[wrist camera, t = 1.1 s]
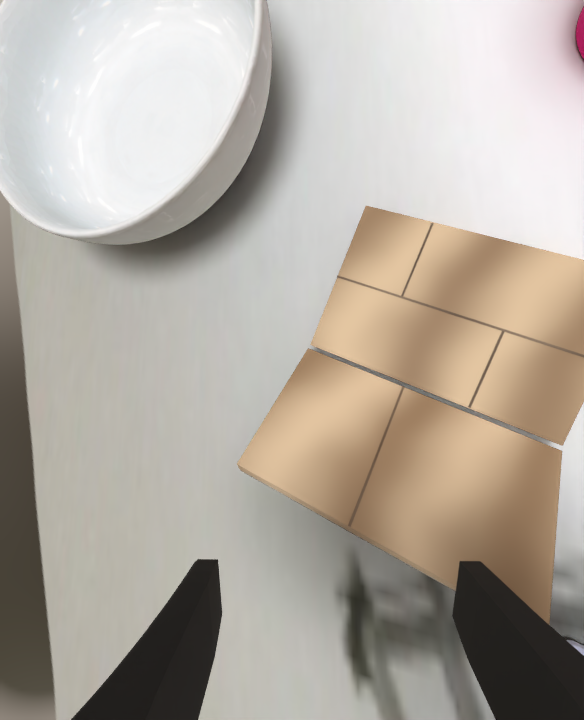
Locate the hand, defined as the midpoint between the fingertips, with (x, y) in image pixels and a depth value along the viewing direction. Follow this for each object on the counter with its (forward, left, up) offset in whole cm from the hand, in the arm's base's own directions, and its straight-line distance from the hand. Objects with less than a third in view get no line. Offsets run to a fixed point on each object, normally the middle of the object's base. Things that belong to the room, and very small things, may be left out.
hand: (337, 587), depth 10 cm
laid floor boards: (-1, -11, -11) cm, 15 cm away
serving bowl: (+23, -17, -11) cm, 31 cm away
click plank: (-1, -2, -8) cm, 9 cm away
